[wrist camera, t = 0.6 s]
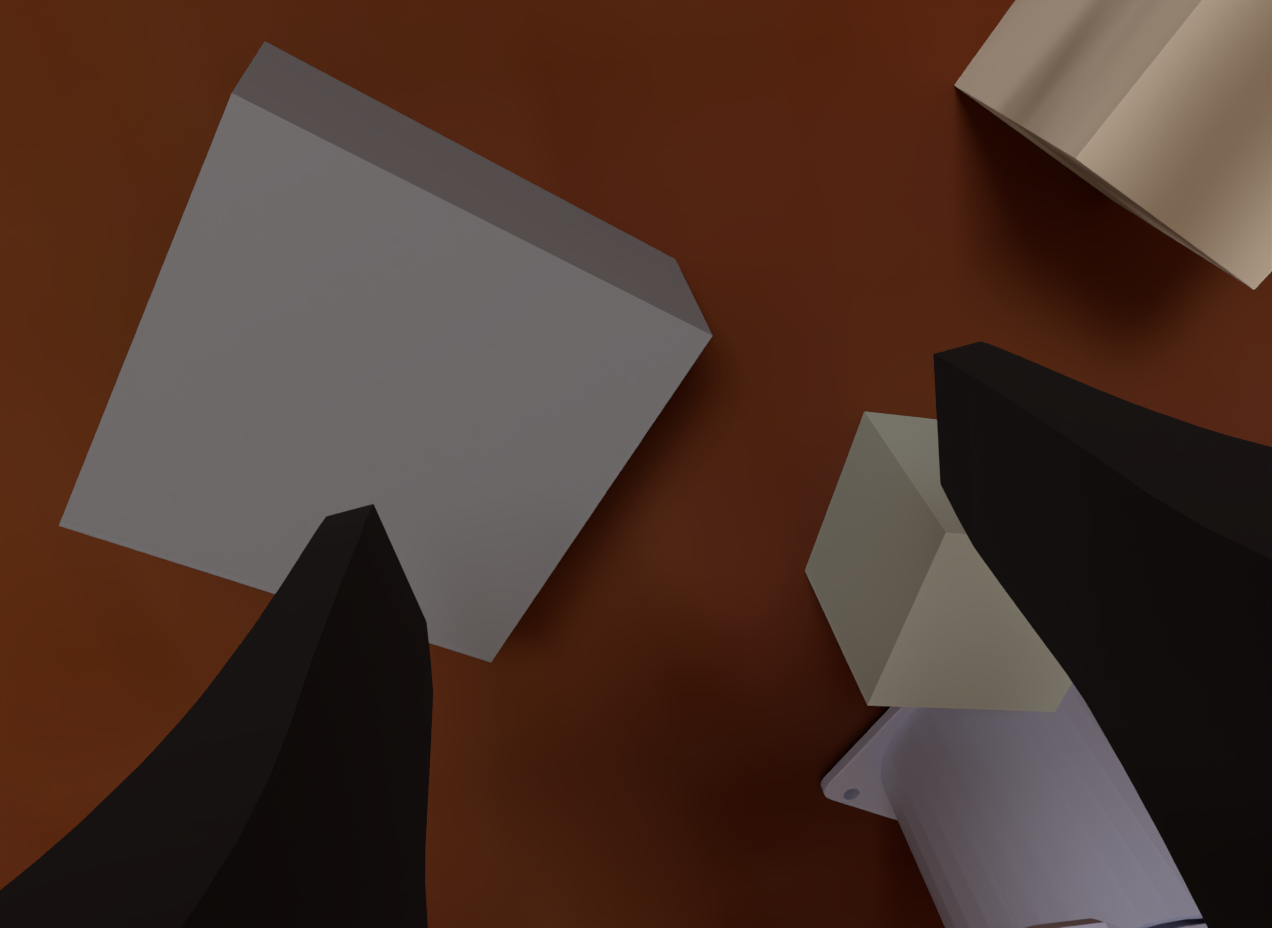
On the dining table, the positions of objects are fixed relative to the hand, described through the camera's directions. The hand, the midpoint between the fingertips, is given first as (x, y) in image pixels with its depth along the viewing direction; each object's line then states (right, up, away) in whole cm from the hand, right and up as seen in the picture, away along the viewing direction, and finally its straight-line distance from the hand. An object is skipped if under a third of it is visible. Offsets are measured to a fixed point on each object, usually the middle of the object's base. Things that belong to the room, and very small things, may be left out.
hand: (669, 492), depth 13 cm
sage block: (+7, -1, +14) cm, 16 cm away
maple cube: (+9, +9, +8) cm, 16 cm away
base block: (-6, +3, +10) cm, 12 cm away
